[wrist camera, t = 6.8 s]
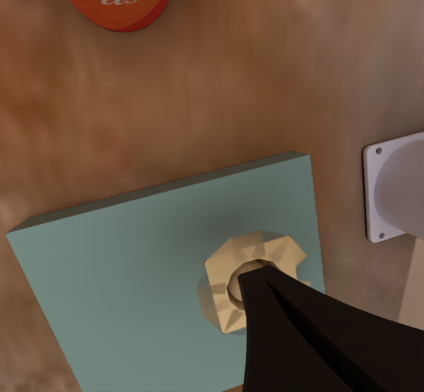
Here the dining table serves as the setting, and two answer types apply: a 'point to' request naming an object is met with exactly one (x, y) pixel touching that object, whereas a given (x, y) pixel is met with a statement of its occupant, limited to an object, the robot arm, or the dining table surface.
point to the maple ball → (233, 281)
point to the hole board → (168, 273)
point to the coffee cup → (121, 12)
